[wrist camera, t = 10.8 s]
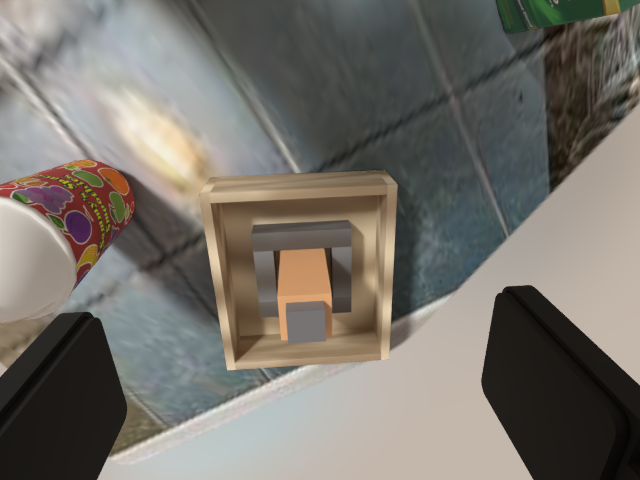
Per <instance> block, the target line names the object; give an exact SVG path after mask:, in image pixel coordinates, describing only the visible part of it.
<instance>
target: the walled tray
mask: <svg viewBox="0 0 640 480" xmlns="http://www.w3.org/2000/svg"><path fill="white" fill-rule="evenodd" d="M397 186H398V184H397V183H396V182H395V181H394V180H393V179H392V177H391V176H390V175H389V174H388V173H387V172H386V170H364V171H342V172H321V173H299V174H278V175H257V176H235V177H214V178H210V179H209V181H208V182H207V184H206V185H205V186H204V188H203V189H202V190H201V192H200V193H199V198H200V204H201V211H202V217H203V223H204V229H205V235H206V241H207V247H208V254H209V260H210V266H211V272H212V278H213V284H214V290H215V297H216V303H217V309H218V315H219V321H220V327H221V333H222V340H223V346H224V352H225V358H226V364H227V370H238V369H253V368H267V367H282V366H297V365H312V364H327V363H342V362H357V361H372V360H385V359H386V360H387V359H389V349H390V329H391V308H392V288H393V267H394V247H395V227H396V206H397ZM318 248H324V251H325V257H326V263H327V269H328V275H329V281H330V287H331V293H332V337H329V338H326V341H324V342H308V343H293V344H288V340H282V341H281V333H280V322H279V310H278V299H277V293H278V279H279V265H280V251H281V250H300V249H318Z"/></svg>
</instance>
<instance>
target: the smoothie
mask: <svg viewBox="0 0 640 480" xmlns="http://www.w3.org/2000/svg"><path fill="white" fill-rule="evenodd" d="M134 204H135V199H134V196H133V193H132V189H131V186H130V184H129V183H128V181H127V180H126V179H125V177H124V176H123V175H122V174H120V173H119V172H118V171H117V170H116V169H114V168H112V167H110V166H108V165H106V164H104V163H102V162H98V161H92V160H80V161H74V162H71V163H68V164H65V165H61V166H58V167H55V168H52V169H49V170H46V171H42V172H39V173H36V174H33V175H30V176H27V177H23V178H20V179H17V180H14V181H11V182H7V183H4V184H1V185H0V324H2V323H13V322H18V321H21V320H28V319H38V318H40V317H42V316H45V315H47V314H50V313H52V312H55V311H56V310H57V309H58V308H59V307H60V306H61V305H62V304H64V303H65V302H66V301H67V300H68V299H69V297H70V295H71V293H72V291H73V290H74V289H75V288H76V287H77V285H78V284H79V283H80V282H81V280H82V279H83V278H84V277H85V276H86V274H87V273H88V272H89V271H90V269H91V268H92V267H93V266H94V264H95V263H96V262H97V261H98V259H99V258H100V257H101V256H102V254H103V253H104V252H105V251H106V250H107V248H108V247H109V246H110V245H111V243H112V242H113V241H114V240H115V238H116V237H117V236H118V235H119V233H120V232H121V231H122V230H123V229H124V227H125V226H126V225H127V224H128V222H129V221H130V220H131V217H132V215H133V213H134Z"/></svg>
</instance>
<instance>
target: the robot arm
mask: <svg viewBox="0 0 640 480" xmlns="http://www.w3.org/2000/svg"><path fill="white" fill-rule="evenodd" d="M481 380H482V381H481V382H482V388H483V392H484V394H485V396H486V398H487V400H488V401H489V403H490V405H491V407H492V408H493V410H494V412H495V414H496V415H497V417H498V419H499V421H500V422H501V424H502V426H503V427H504V429H505V431H506V433H507V434H508V436H509V438H510V440H511V441H512V443H513V445H514V447H515V448H516V450H517V452H518V454H519V455H520V457H521V459H522V460H523V462H524V464H525V466H526V467H527V469H528V471H529V473H530V474H531V476H532V478H533V479H534V480H640V385H639V384H638V383H637V382H635V381H634V380H633V379H632V378H631V377H630V376H629V375H628V374H627V373H626V372H625V371H624V370H622V369H621V368H620V367H619V366H618V365H617V364H616V363H615V362H614V361H613V360H612V359H611V358H610V357H609V356H608V355H606V354H605V353H604V352H603V351H602V350H601V349H600V348H599V347H598V346H597V345H596V344H595V343H594V342H593V341H591V340H590V339H589V338H588V337H587V336H586V335H585V334H584V333H583V332H582V331H581V330H580V329H579V328H578V327H576V326H575V325H574V324H573V323H572V322H571V321H570V320H569V319H568V318H567V317H565V315H564V314H563V313H561V312H560V311H559V310H558V309H557V308H556V307H555V306H554V305H553V304H552V303H551V302H550V301H549V300H548V299H546V298H545V297H544V296H543V295H542V294H541V293H540V292H539V291H538V290H537V289H536V288H535V287H533V286H531V285H525V286H509V287H505V288H504V289H503V291H502V293H498V294H497V296H496V298H495V303H494V309H493V315H492V321H491V326H490V332H489V338H488V344H487V350H486V356H485V361H484V367H483V373H482V379H481ZM126 414H127V404H126V400H125V397H124V394H123V390H122V387H121V384H120V381H119V377H118V374H117V371H116V368H115V364H114V361H113V358H112V355H111V352H110V348H109V345H108V342H107V339H106V335H105V332H104V329H103V326H102V323H101V320H100V319H99V318H94V317H93V315H92V314H91V313H90V312H75V313H62V314H60V315H58V316H57V317H56V318H55V319H54V320H53V321H52V322H51V323H50V324H49V325H48V327H47V328H46V329H45V330H44V331H43V332H42V333H41V334H40V335H39V336H38V337H37V338H36V339H35V340H34V342H33V343H32V344H31V345H30V346H29V347H28V348H27V349H26V350H25V351H24V352H23V353H22V354H21V355H20V357H19V358H18V359H17V360H16V361H15V362H14V363H13V364H12V365H11V366H10V367H9V368H8V369H7V370H6V372H5V373H4V374H3V375H2V376H1V377H0V480H97V478H98V476H99V474H100V472H101V470H102V468H103V466H104V463H105V462H106V459H107V457H108V455H109V453H110V451H111V449H112V447H113V445H114V442H115V440H116V438H117V436H118V434H119V432H120V430H121V428H122V426H123V423H124V421H125V419H126Z"/></svg>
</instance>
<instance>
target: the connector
mask: <svg viewBox="0 0 640 480" xmlns="http://www.w3.org/2000/svg"><path fill="white" fill-rule="evenodd" d="M277 299H278V310H279V322H280V333H281V341H282V340H288V344H293V343H308V342H324V341H326V338H329V337H332V293H331V287H330V281H329V275H328V269H327V263H326V257H325V251H324V248H318V249H300V250H281V251H280V265H279V279H278V293H277Z"/></svg>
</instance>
